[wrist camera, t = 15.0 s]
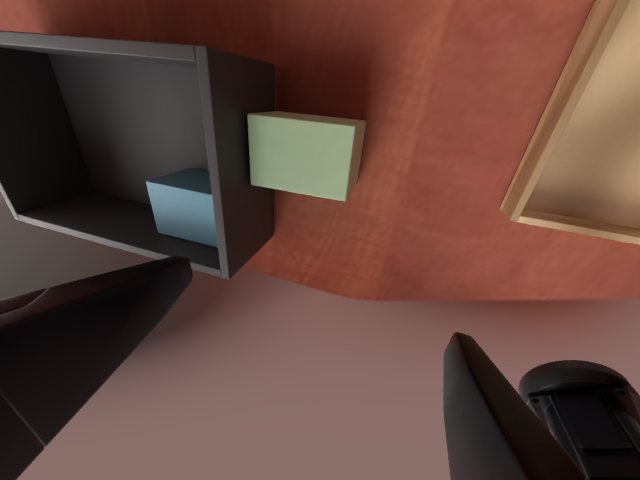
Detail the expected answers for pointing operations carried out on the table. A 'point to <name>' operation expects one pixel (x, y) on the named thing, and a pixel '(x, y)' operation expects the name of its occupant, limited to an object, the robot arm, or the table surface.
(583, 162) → the wooden tray
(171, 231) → the teal block
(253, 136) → the sage block
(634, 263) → the table surface
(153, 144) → the dark grey open box
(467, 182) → the table surface
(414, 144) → the table surface
